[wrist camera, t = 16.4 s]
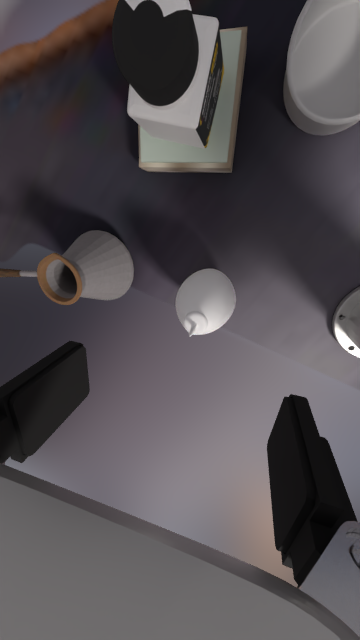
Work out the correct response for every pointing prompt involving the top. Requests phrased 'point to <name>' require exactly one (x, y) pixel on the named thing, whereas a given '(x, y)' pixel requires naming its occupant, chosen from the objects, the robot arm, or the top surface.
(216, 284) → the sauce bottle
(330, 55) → the saucepan
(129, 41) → the medicine bottle
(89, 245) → the coffee pot
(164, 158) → the plinth
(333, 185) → the top surface
